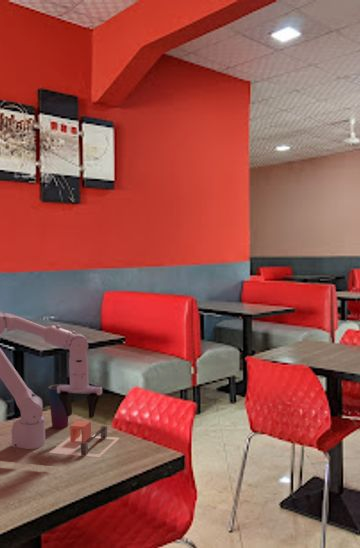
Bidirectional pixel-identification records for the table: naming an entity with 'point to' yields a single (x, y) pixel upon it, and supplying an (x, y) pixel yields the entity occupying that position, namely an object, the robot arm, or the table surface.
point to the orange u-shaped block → (85, 430)
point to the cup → (57, 409)
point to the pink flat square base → (83, 444)
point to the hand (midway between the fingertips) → (80, 416)
